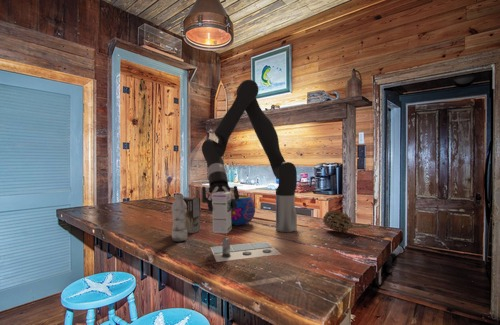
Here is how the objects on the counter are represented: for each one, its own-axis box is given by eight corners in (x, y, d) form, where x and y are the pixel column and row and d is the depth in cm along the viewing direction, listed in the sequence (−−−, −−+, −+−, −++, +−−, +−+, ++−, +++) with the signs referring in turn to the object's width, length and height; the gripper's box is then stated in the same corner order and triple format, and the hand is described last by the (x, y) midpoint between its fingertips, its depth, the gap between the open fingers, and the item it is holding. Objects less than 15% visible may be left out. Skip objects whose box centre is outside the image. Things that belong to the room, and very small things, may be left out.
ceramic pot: (236, 219, 151) (235, 193, 151) (261, 223, 141) (261, 195, 140) (215, 225, 137) (215, 197, 137) (242, 230, 126) (241, 199, 126)
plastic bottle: (190, 239, 113) (190, 193, 113) (181, 244, 106) (181, 195, 106) (177, 238, 115) (177, 192, 115) (168, 242, 109) (167, 194, 108)
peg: (229, 254, 92) (229, 237, 92) (230, 257, 89) (230, 239, 89) (221, 255, 91) (221, 238, 91) (223, 257, 88) (223, 240, 88)
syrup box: (227, 233, 93) (227, 193, 93) (211, 232, 95) (212, 193, 94) (231, 229, 99) (231, 191, 99) (217, 228, 100) (217, 191, 100)
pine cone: (319, 231, 123) (319, 210, 123) (326, 227, 131) (326, 207, 131) (370, 239, 111) (369, 216, 111) (374, 234, 119) (374, 212, 118)
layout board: (266, 243, 106) (266, 240, 106) (281, 256, 92) (281, 253, 92) (210, 249, 99) (210, 246, 99) (216, 264, 85) (216, 261, 85)
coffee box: (201, 230, 128) (200, 197, 128) (193, 233, 122) (193, 199, 122) (185, 228, 131) (185, 196, 131) (177, 231, 125) (177, 198, 125)
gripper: (200, 170, 102) (204, 205, 91) (236, 170, 106) (243, 203, 95) (199, 183, 107) (202, 217, 96) (233, 182, 111) (239, 214, 100)
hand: (222, 210), depth 95 cm, fingers closed on syrup box, 7 cm apart
